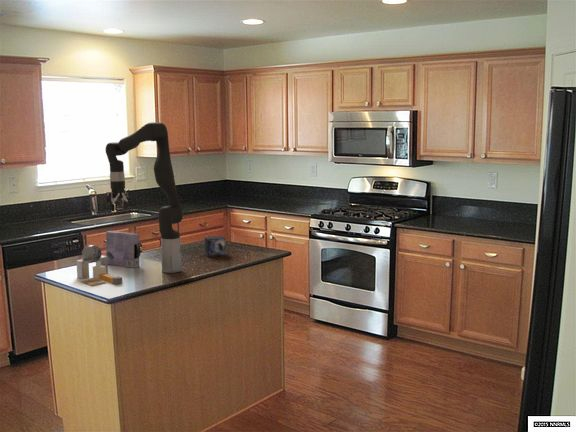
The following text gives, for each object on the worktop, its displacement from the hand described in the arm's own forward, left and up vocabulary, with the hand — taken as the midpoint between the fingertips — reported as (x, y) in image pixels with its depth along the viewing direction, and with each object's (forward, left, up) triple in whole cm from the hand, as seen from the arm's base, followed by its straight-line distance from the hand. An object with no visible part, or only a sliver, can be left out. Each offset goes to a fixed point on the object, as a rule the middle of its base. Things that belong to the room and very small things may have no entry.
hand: (119, 210), depth 316 cm
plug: (-30, +27, -27) cm, 49 cm away
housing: (-17, +27, -27) cm, 42 cm away
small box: (-31, -41, -28) cm, 58 cm away
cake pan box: (-12, +6, -28) cm, 31 cm away
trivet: (-28, +34, -27) cm, 52 cm away
